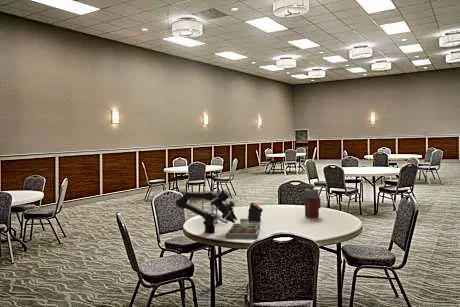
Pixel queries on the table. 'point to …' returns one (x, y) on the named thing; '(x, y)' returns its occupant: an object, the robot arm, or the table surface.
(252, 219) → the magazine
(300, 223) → the table surface
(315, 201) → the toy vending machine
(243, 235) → the grey shallow box
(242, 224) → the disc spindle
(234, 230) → the tray
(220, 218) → the newton's cradle
